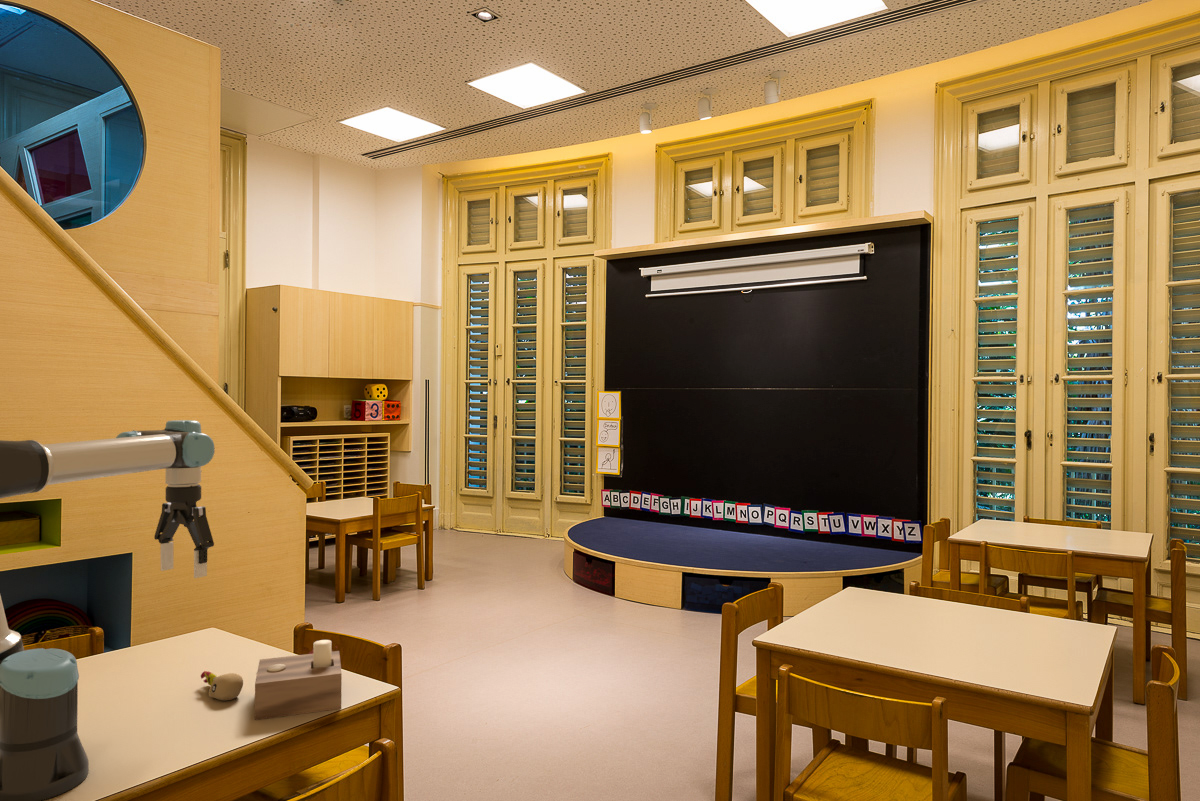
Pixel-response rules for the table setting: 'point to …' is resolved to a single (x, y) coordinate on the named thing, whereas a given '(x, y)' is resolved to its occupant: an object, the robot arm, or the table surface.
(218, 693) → the toy
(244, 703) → the table surface
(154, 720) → the table surface
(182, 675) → the table surface
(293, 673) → the socket block
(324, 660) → the dowel
